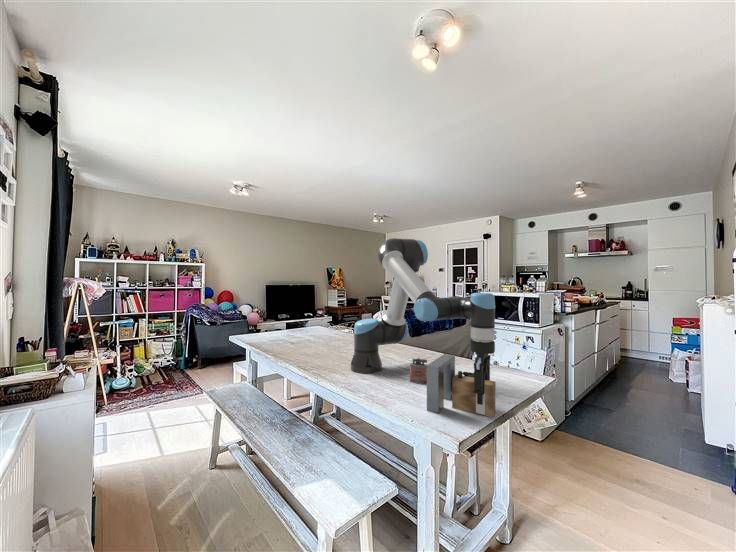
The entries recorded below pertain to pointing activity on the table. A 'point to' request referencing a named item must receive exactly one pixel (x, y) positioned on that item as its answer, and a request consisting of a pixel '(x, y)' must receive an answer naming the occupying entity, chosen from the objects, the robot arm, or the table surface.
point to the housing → (440, 382)
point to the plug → (472, 394)
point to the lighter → (418, 371)
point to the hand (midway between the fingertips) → (482, 410)
